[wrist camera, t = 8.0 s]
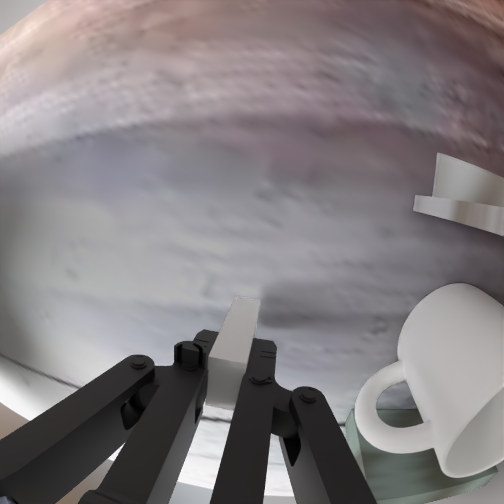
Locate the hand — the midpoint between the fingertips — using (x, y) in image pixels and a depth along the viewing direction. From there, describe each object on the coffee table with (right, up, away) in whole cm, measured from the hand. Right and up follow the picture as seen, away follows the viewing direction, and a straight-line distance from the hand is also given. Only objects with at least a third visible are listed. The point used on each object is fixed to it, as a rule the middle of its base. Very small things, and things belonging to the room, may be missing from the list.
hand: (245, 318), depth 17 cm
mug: (+13, -2, +1) cm, 13 cm away
